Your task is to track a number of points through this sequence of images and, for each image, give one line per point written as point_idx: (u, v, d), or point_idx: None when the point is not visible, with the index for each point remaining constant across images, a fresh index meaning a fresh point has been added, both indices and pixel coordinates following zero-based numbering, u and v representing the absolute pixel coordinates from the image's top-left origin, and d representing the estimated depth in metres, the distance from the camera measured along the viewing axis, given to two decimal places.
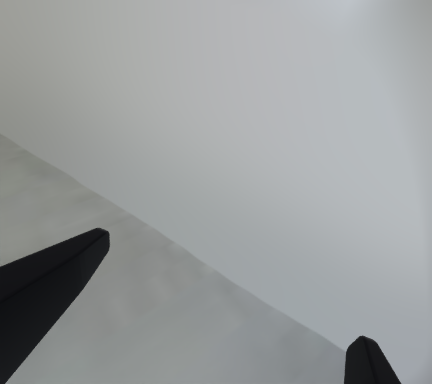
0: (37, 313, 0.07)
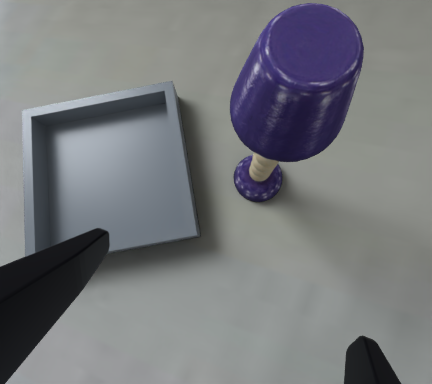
0: (37, 313, 0.07)
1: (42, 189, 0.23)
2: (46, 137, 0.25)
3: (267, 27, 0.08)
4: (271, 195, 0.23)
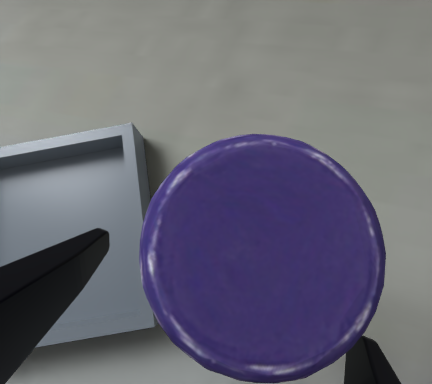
0: (37, 313, 0.07)
1: None
2: None
3: (160, 193, 0.03)
4: None
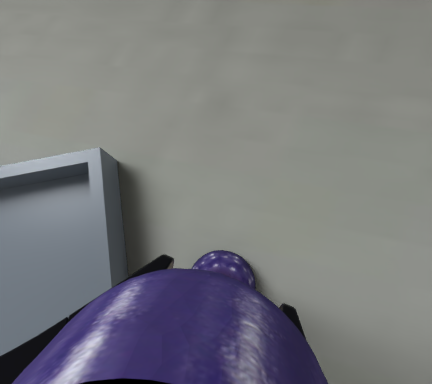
0: None
1: None
2: None
3: None
4: None
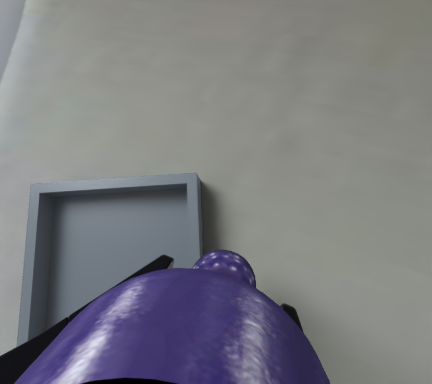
0: None
1: (43, 274, 0.21)
2: (54, 210, 0.23)
3: None
4: None
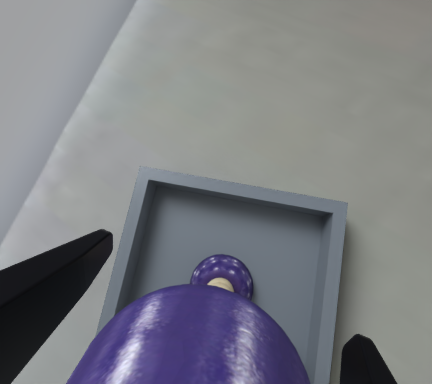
0: (41, 315, 0.07)
1: (130, 276, 0.18)
2: (153, 201, 0.19)
3: None
4: None
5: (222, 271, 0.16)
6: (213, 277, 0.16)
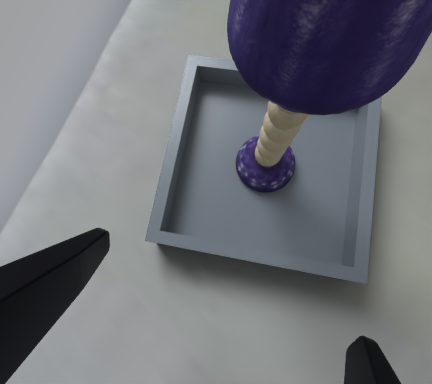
0: (37, 313, 0.07)
1: (181, 154, 0.19)
2: (197, 94, 0.21)
3: None
4: (282, 184, 0.18)
5: None
6: None
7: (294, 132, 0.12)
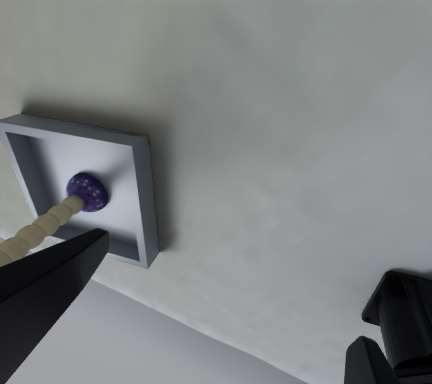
0: (37, 313, 0.07)
1: None
2: (66, 226, 0.31)
3: None
4: (95, 185, 0.25)
5: None
6: None
7: (29, 237, 0.20)
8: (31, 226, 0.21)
